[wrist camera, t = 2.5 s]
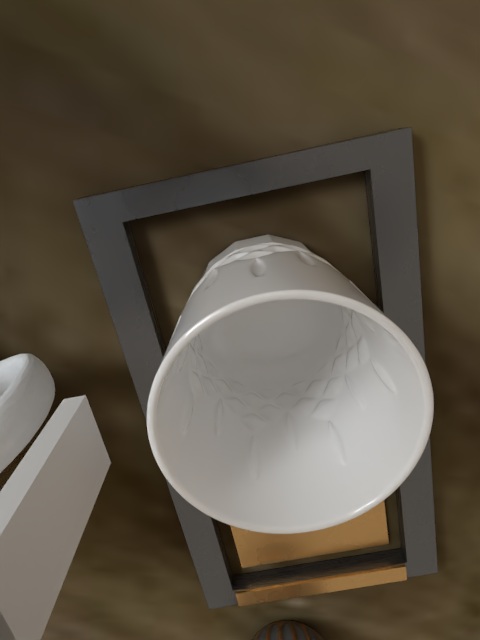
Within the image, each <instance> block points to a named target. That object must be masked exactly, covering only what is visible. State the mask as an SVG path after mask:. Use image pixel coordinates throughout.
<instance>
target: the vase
mask: <svg viewBox="0 0 480 640" xmlns="http://www.w3.org/2000/svg"><path fill="white" fill-rule="evenodd" d="M251 640H325V639H324V638H323V637H322V636H321V635H320V634H319V633H317V632H316V631H315V630H313V629H312V628H310V627H308V626H307V625H305V624H303V623H300V622H296V621H278V622H274V623H271V624H269V625H267V626H265V627H264V628H263V629H261V630H260V631H259V632H258V633H257V634H256V635H255V636H254V637H253V638H252V639H251Z"/></svg>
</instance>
